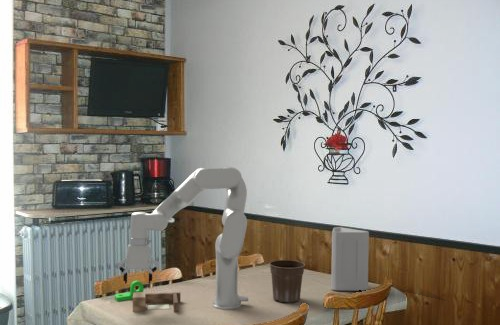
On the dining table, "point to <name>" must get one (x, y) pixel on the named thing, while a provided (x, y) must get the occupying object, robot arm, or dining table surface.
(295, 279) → the plant pot
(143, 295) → the block
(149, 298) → the arena
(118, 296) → the mechanical part
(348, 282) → the grey tall block
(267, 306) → the dining table surface
